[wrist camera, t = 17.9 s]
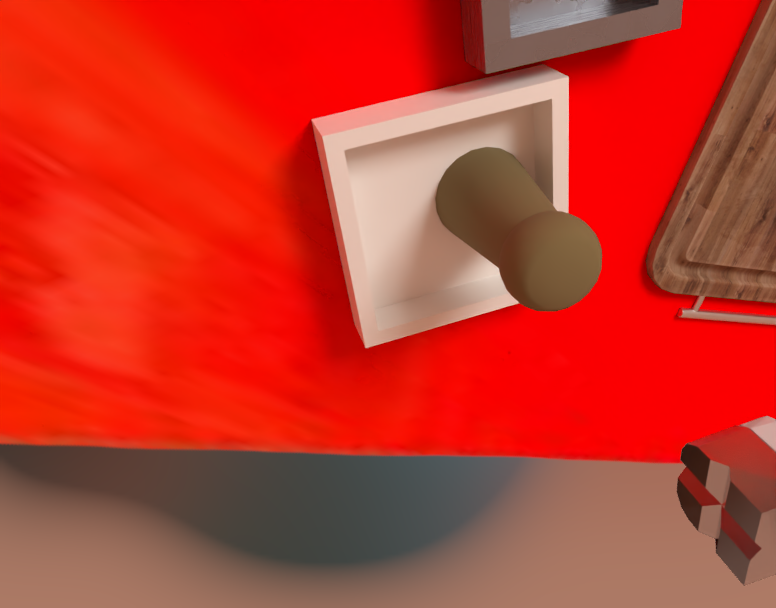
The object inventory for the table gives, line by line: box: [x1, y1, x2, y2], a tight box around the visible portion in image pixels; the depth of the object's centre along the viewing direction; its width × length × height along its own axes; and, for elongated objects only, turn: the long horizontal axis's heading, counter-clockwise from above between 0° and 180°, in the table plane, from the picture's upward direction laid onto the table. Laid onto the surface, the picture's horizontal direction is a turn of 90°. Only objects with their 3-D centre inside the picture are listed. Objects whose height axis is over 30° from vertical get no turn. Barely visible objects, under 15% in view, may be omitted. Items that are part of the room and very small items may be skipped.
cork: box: [435, 147, 602, 311], centre depth 39 cm, size 6×6×11 cm
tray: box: [311, 64, 569, 348], centre depth 42 cm, size 14×14×3 cm
